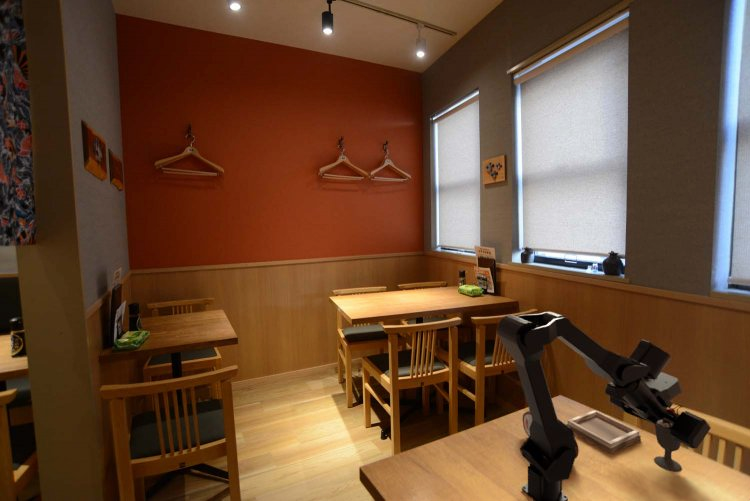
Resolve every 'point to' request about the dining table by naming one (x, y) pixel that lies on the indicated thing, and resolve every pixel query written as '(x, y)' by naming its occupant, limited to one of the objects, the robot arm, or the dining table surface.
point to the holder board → (604, 431)
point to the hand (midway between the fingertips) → (673, 431)
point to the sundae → (667, 444)
